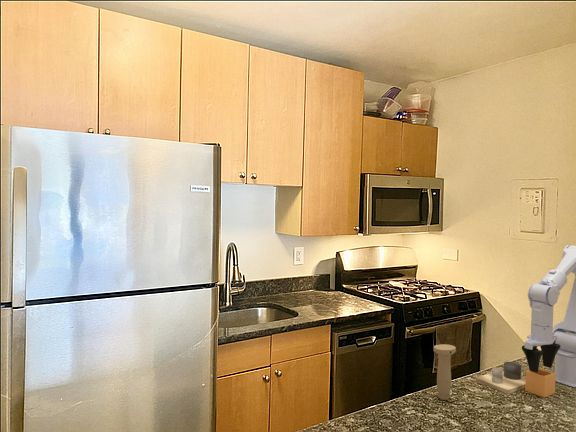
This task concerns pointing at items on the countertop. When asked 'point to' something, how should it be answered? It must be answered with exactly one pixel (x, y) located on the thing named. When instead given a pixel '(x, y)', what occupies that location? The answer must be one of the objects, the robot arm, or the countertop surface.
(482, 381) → the fitting board
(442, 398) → the handle
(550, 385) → the sleeve
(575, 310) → the robot arm
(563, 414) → the countertop surface
